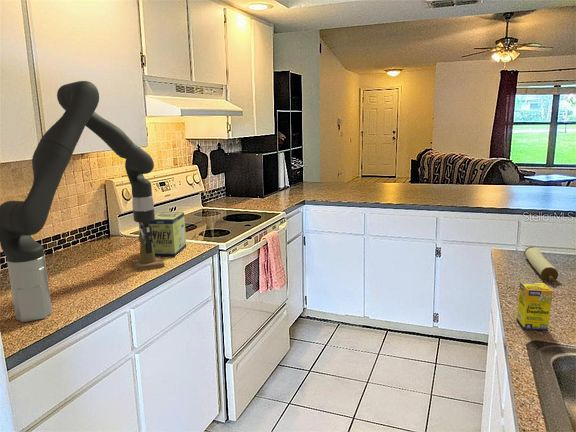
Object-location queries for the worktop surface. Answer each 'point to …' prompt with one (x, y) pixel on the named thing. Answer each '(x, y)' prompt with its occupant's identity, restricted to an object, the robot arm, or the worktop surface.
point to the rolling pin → (541, 264)
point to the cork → (144, 256)
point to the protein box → (168, 234)
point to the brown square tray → (141, 267)
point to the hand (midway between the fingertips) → (147, 250)
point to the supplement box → (534, 306)
